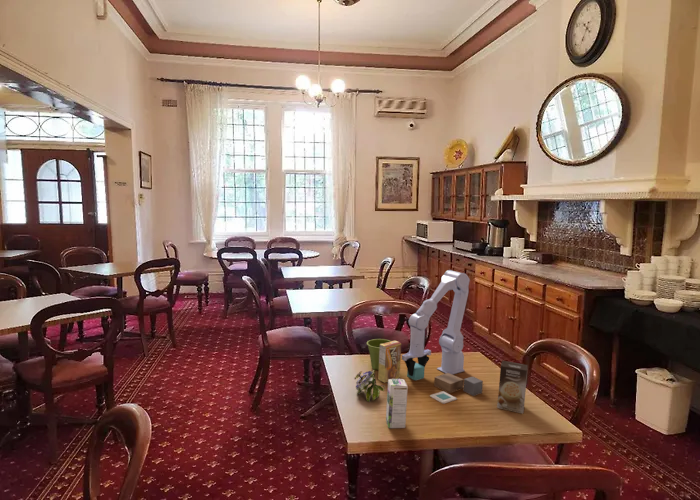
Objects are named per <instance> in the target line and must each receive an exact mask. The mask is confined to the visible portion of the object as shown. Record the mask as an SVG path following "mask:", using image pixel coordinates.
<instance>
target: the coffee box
mask: <svg viewBox="0 0 700 500" xmlns="http://www.w3.org/2000/svg"><path fill="white" fill-rule="evenodd" d="M528 366H529V365H528V364H523V363H518V362H513V361H507V360H503V359H502V361H501V364H500V373H499V382H498V392H497V393H498V395H497V404H496V408H498V409H501V410H505V411H510V412H515V413H517V414H518V413H519V414H524V410H525V402H526V401H525V400H526V391H527V390H526V389H527V378H528V369H529V368H528Z"/></svg>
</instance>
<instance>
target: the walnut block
mask: <svg viewBox="0 0 700 500" xmlns="http://www.w3.org/2000/svg"><path fill="white" fill-rule="evenodd" d="M464 379H465V378H464ZM464 379H463V378H461V377H459V376H457V375H455V374H449V373H443V374H439V375H436V376H434V381H433V382H434V383H433V386H434V387H436V388H437V389H440V390H442V391H444V392H446V393H448V394H452V393H455V392H456V391H459V390H463V388H464Z"/></svg>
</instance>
